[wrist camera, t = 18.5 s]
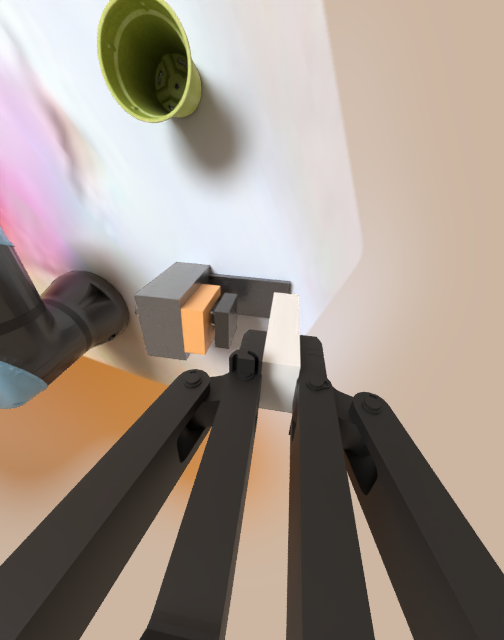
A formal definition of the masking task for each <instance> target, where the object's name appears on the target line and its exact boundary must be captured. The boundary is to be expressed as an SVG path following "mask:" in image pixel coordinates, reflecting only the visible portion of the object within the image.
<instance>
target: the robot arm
mask: <svg viewBox="0 0 504 640" xmlns="http://www.w3.org/2000/svg"><path fill="white" fill-rule="evenodd" d="M14 247H15V246H14V244H13V243H11V242H10V241H9V240H8V238H7V236H6V235H5V233H4V231H3V230H2V228H1V226H0V409H11V408H16V407H20V406H22V405H24V404H25V403H27V402H28V401H30V400H31V399H32V398H34V397H35V396H36V395H37V394H39V393H40V392H42V391H44V390H45V389H46V388H47V387H48V385H49V384H51V383H52V382H53V381H54V380H55V379H56V378H57V377H58V376H59V375H61V374H62V373H63V372H64V371H65V370H66V369H67V368H69V367H70V366H71V365H72V364H73V363H74V362H75V361H76V360H78V359H79V358H80V357H81V356H82V355H83V354H84V353H85V352H87V351H88V350H89V349H91V348H93V347H96V346H98V345H101V344H103V343H106V342H108V341H111V340H113V339H114V338H116V337H117V336H118V335H119V334H120V333H122V332H123V331H124V329H125V328H126V326H127V324H128V318H129V317H128V310H127V307H126V304H125V302H124V300H123V298H122V297H121V295H120V294H119V293H118V291H117V290H116V289H115V288H114V287H113V286H112V285H111V284H110V283H108V282H107V281H106V280H104V279H103V278H101V277H99V276H97V275H95V274H92V273H89V272H85V271H72V272H68V273H66V274H64V275H62V276H60V277H58V278H56V279H55V280H54V281H53V282H52V283H51V285H50V286H49V287H48V288H47V289H46V290H45V291H44V292H43V294H42V295H41V296H39V294H38V292H37V290H36V288H35V286H34V284H33V283H32V281H31V279H30V277H29V275H28V273H27V271H26V269H25V268H24V266H23V264H22V262H21V260H20V258H19V256H18V255H17V253H16V251H15V249H14ZM323 356H324V355H323V348H322V343H321V342H320V340H319V339H318V338H317V337H312V336H304V335H300V331H299V295H295V294H286V293H276V292H274V296H273V302H272V307H271V313H270V319H269V325H268V331H267V332H265V331H257V330H249V331H248V332H246V333H245V334H244V337H243V340H242V343H241V347H240V350H236V351H235V352H233V353H232V354H231V355H230V357H229V373H227V374H225V375H222V376H216V377H209V376H208V374H207V373H206V372H204V371H202V370H198V369H193V370H188V371H185V372H183V373H182V374H181V375H179V376H178V377H177V378H176V379H175V380H174V382H173V383H172V384H171V385H170V386H169V387H168V388H167V389H166V390H165V391H164V392H163V393H162V394H161V395H160V396H159V398H158V399H157V400H156V401H155V402H154V403H153V404H152V405H151V406H150V407H149V408H148V409H147V410H146V411H145V413H143V415H142V416H141V417H140V418H139V419H138V420H137V421H136V422H135V423H134V424H133V425H132V426H131V427H130V428H129V429H128V431H127V432H126V433H125V434H124V435H123V436H122V437H121V438H120V439H119V440H118V441H117V442H116V443H115V444H114V445H113V447H112V448H111V449H110V450H109V451H108V452H107V453H106V454H105V455H104V456H103V457H102V458H101V459H100V460H99V461H98V463H97V464H96V465H95V466H94V467H93V468H92V469H91V470H90V471H89V472H88V473H87V474H86V475H85V476H84V477H83V478H82V480H81V481H80V482H79V483H78V484H77V485H76V486H75V487H74V488H73V489H72V490H71V491H70V492H69V493H68V495H67V496H66V497H65V498H64V499H63V500H62V501H61V502H60V503H59V504H58V505H57V506H56V507H55V508H54V509H53V510H52V512H51V513H50V514H49V515H48V516H47V517H46V518H45V519H44V520H43V521H42V522H41V523H40V524H39V526H37V528H36V529H35V530H34V531H33V532H32V533H31V534H30V535H29V536H28V537H27V539H25V540H24V541H23V542H22V544H21V545H20V546H19V547H18V548H17V549H16V550H15V551H14V552H13V553H12V554H11V555H10V556H9V558H7V559H6V561H5V562H4V563H3V564H2V565H1V566H0V640H79V639H80V637H81V636H82V634H83V633H84V631H85V629H86V628H87V626H88V625H89V623H90V621H91V620H92V618H93V617H94V615H95V613H96V612H97V610H98V609H99V607H100V605H101V604H102V602H103V601H104V599H105V597H106V596H107V594H108V592H109V591H110V589H111V588H112V586H113V584H114V583H115V581H116V580H117V578H118V576H119V575H120V573H121V572H122V570H123V568H124V566H125V565H126V563H127V562H128V560H129V559H130V557H131V555H132V554H133V552H134V551H135V549H136V547H137V545H138V544H139V543H140V541H141V539H142V538H143V536H144V535H145V533H146V531H147V530H148V528H149V526H150V525H151V523H152V522H153V520H154V518H155V517H156V515H157V514H158V512H159V510H160V509H161V507H162V505H163V504H164V502H165V501H166V499H167V498H168V496H169V494H170V493H171V491H172V490H173V488H174V486H175V485H176V483H177V481H178V480H179V478H180V477H181V475H182V473H183V472H184V470H185V469H186V467H187V465H188V464H189V462H190V461H191V459H192V457H193V456H194V454H195V452H196V451H197V449H198V448H199V446H200V444H201V443H202V441H203V440H204V438H205V436H206V435H207V433H208V431H209V430H210V428H211V426H212V429H211V432H210V435H209V438H208V441H207V444H206V447H205V450H204V454H203V457H202V460H201V463H200V466H199V469H198V472H197V476H196V479H195V482H194V485H193V488H192V491H191V494H190V498H189V501H188V504H187V507H186V510H185V513H184V516H183V520H182V523H181V526H180V529H179V532H178V535H177V539H176V542H175V545H174V548H173V551H172V554H171V557H170V560H169V563H168V567H167V570H166V573H165V576H164V579H163V582H162V585H161V588H160V592H159V595H158V598H157V601H156V604H155V607H154V610H153V613H152V616H151V619H150V621H149V624H148V626H147V629H146V630H145V632H144V633H143V635H142V637H141V638H140V640H225V634H226V627H227V621H228V614H229V607H230V600H231V594H232V587H233V580H234V573H235V567H236V560H237V553H238V546H239V540H240V533H241V526H242V519H243V512H244V506H245V499H246V492H247V486H248V479H249V472H250V465H251V458H252V452H253V445H254V438H255V432H256V425H257V418H258V417H257V416H258V408H262V409H269V410H275V411H282V412H288V413H292V420H291V425H290V430H289V435H290V436H291V437H290V483H289V532H288V533H289V535H288V579H287V580H288V581H287V629H286V640H375V638H374V631H373V625H372V619H371V613H370V607H369V602H368V595H367V589H366V583H365V577H364V572H363V566H362V559H361V553H360V547H359V541H358V535H357V530H356V524H355V518H354V512H353V506H352V500H351V494H350V488H349V482H348V476H347V472H348V475H349V477H350V480H351V482H352V485H353V488H354V490H355V493H356V495H357V497H358V500H359V502H360V505H361V508H362V510H363V513H364V515H365V518H366V520H367V523H368V525H369V528H370V530H371V533H372V535H373V538H374V540H375V543H376V545H377V548H378V550H379V553H380V555H381V558H382V560H383V563H384V565H385V568H386V570H387V573H388V576H389V578H390V580H391V583H392V585H393V588H394V591H395V593H396V595H397V598H398V601H399V603H400V606H401V608H402V611H403V613H404V616H405V618H406V621H407V623H408V626H409V628H410V631H411V633H412V636H413V638H414V640H504V574H503V573H502V571H501V569H500V568H499V566H498V565H497V564H496V562H495V561H494V559H493V558H492V556H491V555H490V553H489V552H488V550H487V549H486V547H485V546H484V545H483V543H482V542H481V540H480V539H479V537H478V536H477V535H476V533H475V531H474V530H473V528H472V527H471V526H470V524H469V523H468V521H467V519H466V518H465V517H464V515H463V514H462V512H461V511H460V509H459V508H458V506H457V505H456V503H455V502H454V500H453V499H452V498H451V496H450V495H449V493H448V492H447V490H446V489H445V487H444V486H443V485H442V483H441V482H440V480H439V478H438V477H437V475H436V474H435V472H434V471H433V470H432V468H431V467H430V465H429V464H428V462H427V461H426V459H425V458H424V456H423V455H422V453H421V452H420V450H419V449H418V448H417V446H416V445H415V443H414V442H413V440H412V439H411V437H410V436H409V434H408V433H407V431H406V430H405V428H404V427H403V425H402V424H401V423H400V421H399V420H398V418H397V417H396V415H395V414H394V412H393V411H392V409H391V408H390V406H389V405H388V404H387V403H386V402H385V401H384V400H383V399H382V398H380V397H379V396H377V395H375V394H372V393H369V392H360V393H357V394H356V395H355V396H354V397H352V396H349V395H347V394H344V393H342V392H340V391H338V390H336V389H335V388H334V387H333V386H332V384H331V382H330V381H329V380H328V379H327V375H326V369H325V362H324V357H323Z"/></svg>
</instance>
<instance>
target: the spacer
mask: <svg viewBox="0 0 504 640" xmlns="http://www.w3.org/2000/svg"><path fill="white" fill-rule="evenodd" d="M220 294H221V293H220V286H217V285H208V284H202V285H201V286H200V287H199V288H198V289H197V290H196V292H195V293H194V294H193V295H192V296H191V297H190V299H189V300H188V301H187V302H186V303H185V304H184V305H183V307H182V308H181V309H180V310H181V320H182V329H183V339H184V349H185V352H187V353H195V354H202V355H205V354H206V352H207V350H208V348H209V346H210V344H211V342H212V340H213V338H214V336H215V325H211V309H212V307H213V305H214V304H215V302H216V301H217V299H218V298H219V296H220Z"/></svg>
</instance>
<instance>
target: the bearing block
mask: <svg viewBox="0 0 504 640" xmlns="http://www.w3.org/2000/svg"><path fill="white" fill-rule="evenodd" d="M202 284H208V285H217V286H220V293H221V294H220V296H219V298H218V299H217V301H216V302H215V304H214V305H213V307H212V309H211V312H212V311H215V309H216V307H217V305H218V304H219V302H220V300H221V298H222V297H223V295H224V293H232V294H237V314H241V315H250V316H259V317H268V318H270V313H271V307H272V302H273V296H274V292H276V293H286V294H289V287H290V281H282V280H271V279H261V278H251V277H241V276H231V275H221V274H211V273H210V265H202V264H192V263H181V262H176V263H174V264H173V265H172V266H171V267H169V268H168V269H167V270H166V271H164V272H163V273H162V274H160V275H159V276H158V277H157V278H155V279H154V280H153V281H152V282H150V283H149V284H148V285H146V286H145V287H144V288H143V289H141V290H140V291H139V292H137V293H136V294H135V300H136V304H137V309H138V314H139V318H140V323H141V327H142V332H143V336H144V341H145V345H146V350H147V354H148V355H150V356H157V357H165V358H172V359H179V360H187V358H188V356H189V355H190V353H187V352H185V349H184V339H183V329H182V320H181V310H180V309H181V308H182V307H183V305H184V304H185V303H186V302H187V301H188V300H189V299H190V297H191V296H192V295H193V294H194V293H195V292H196V290H197V289H198V288H199V287H200V286H201V285H202Z"/></svg>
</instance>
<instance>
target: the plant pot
mask: <svg viewBox="0 0 504 640" xmlns="http://www.w3.org/2000/svg"><path fill="white" fill-rule="evenodd" d="M97 52H98V59H99V64H100V68H101V72H102V75H103V77H104V80H105V82H106V85H107V87H108V89H109V91H110V92H111V94H112V96H113V97H114V99H115V100H116V102H117V103H118V104H119V105H120V106H121V107H122V108H123V109H124V110H125V111H126V112H127V113H128V114H130V115H131V116H133V117H134V118H136V119H138V120H141V121H144V122H149V123H158V122H163V121H166V120H168V119H170V118H171V117H178V118H183V117H186V116H188V115H190V114H192V113H193V112H194V111H195V110H196V108H197V106H198V105H199V102H200V98H201V91H202V87H201V80H200V76H199V73H198V70H197V68H196V66H195V64H194V62H193V60H192V58H191V52H190V47H189V42H188V39H187V36H186V33H185V31H184V28H183V26H182V24H181V22H180V20H179V18H178V17H177V15H176V14H175V12H174V11H173V9H172V8H171V7H170V6H169V5H168V4H167V3H166V2H165V1H164V0H110V1H109V2H108V3H107V5H106V7H105V8H104V11H103V13H102V15H101V18H100V21H99V25H98V32H97ZM179 59H181V60H182V61H184V62H186V63H187V65H188V67H187V68H186V67H185V66H184V65H182V64H180V63H178V62H177V60H179ZM161 71H162V72H163V73H162V77H161V83H160V85H159V83H158V79H159V74H160V72H161ZM176 84H178V85H179V88H178V89H176V88H175V85H176ZM169 105H171V106H172V107H173V108H175V109H174V110H173V111H172V110H171V109H170V108H169Z"/></svg>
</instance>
